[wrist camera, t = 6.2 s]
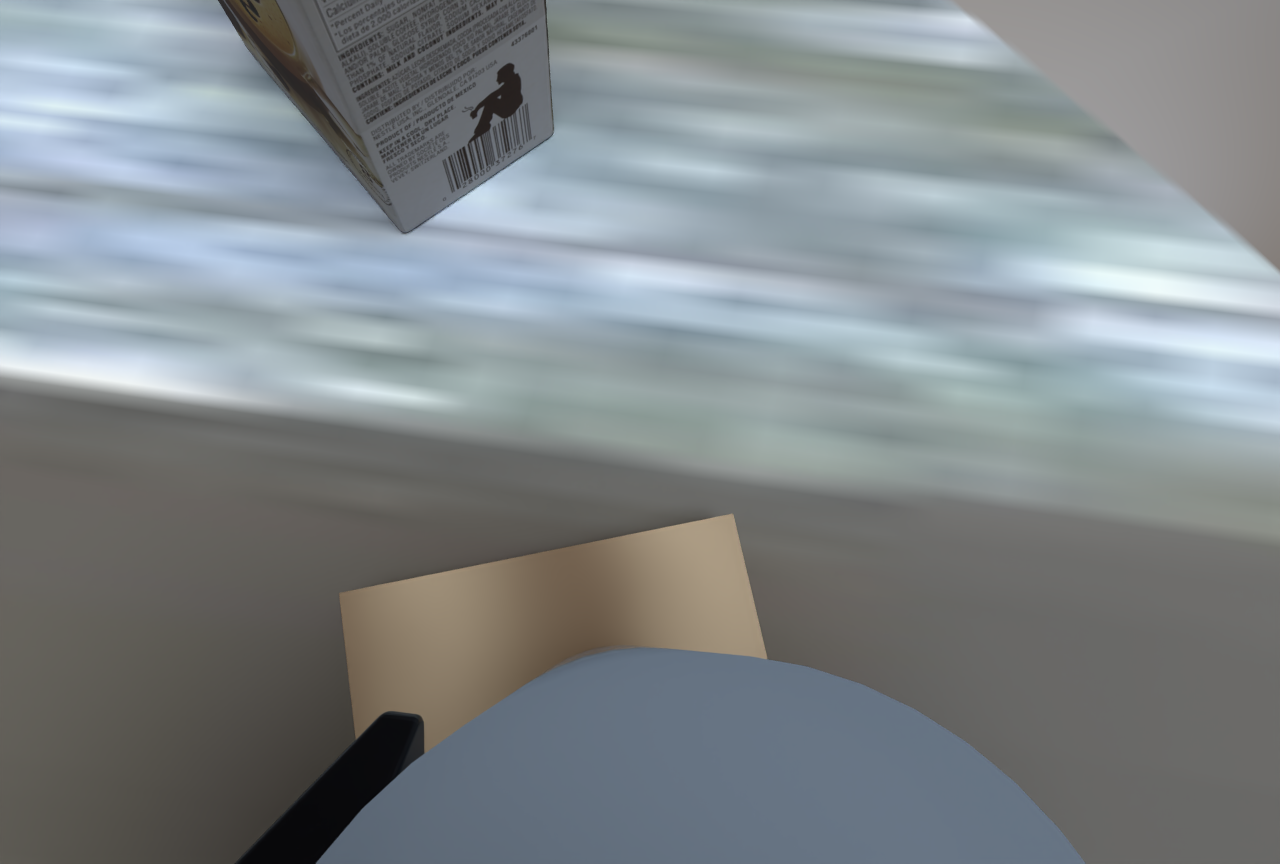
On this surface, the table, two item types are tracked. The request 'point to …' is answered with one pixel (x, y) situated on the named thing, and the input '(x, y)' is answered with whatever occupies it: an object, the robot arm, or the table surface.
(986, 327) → the table surface
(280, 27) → the coffee box
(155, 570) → the table surface
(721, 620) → the oak base block
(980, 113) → the table surface
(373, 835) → the canister
